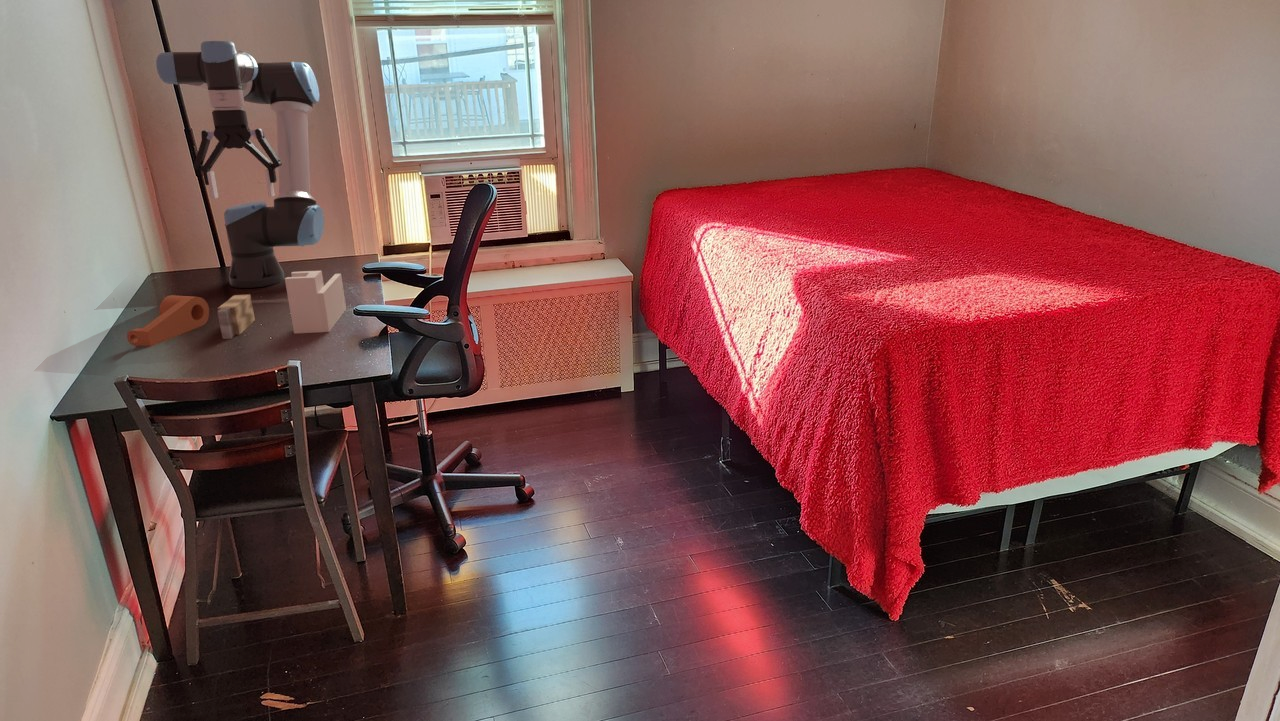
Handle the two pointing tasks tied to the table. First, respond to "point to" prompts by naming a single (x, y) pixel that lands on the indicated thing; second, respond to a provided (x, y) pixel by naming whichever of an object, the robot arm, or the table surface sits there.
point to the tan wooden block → (235, 315)
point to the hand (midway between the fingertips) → (243, 197)
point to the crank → (171, 320)
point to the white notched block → (314, 301)
